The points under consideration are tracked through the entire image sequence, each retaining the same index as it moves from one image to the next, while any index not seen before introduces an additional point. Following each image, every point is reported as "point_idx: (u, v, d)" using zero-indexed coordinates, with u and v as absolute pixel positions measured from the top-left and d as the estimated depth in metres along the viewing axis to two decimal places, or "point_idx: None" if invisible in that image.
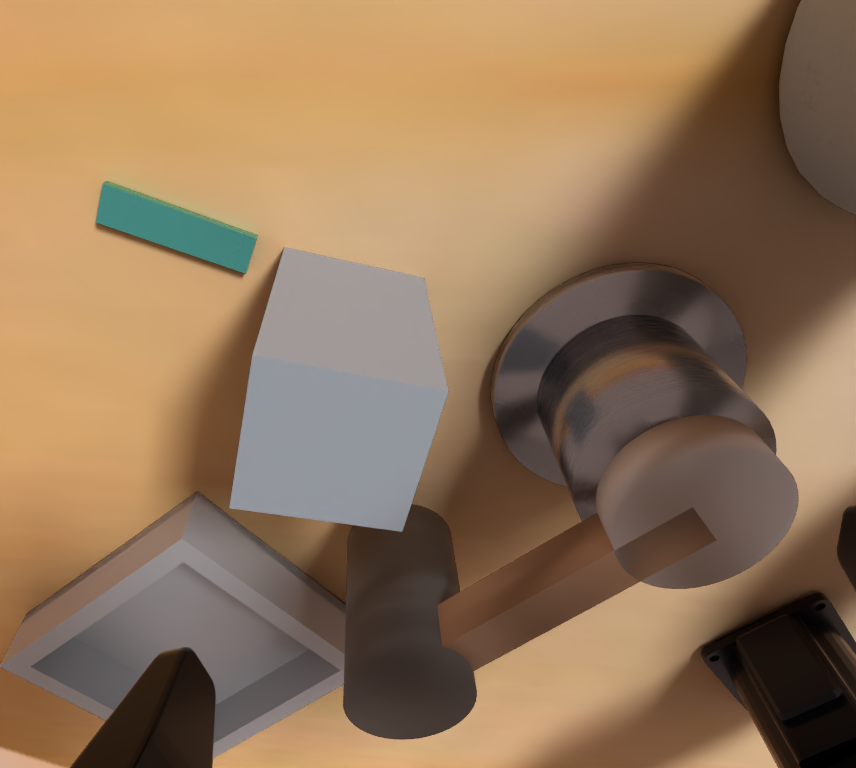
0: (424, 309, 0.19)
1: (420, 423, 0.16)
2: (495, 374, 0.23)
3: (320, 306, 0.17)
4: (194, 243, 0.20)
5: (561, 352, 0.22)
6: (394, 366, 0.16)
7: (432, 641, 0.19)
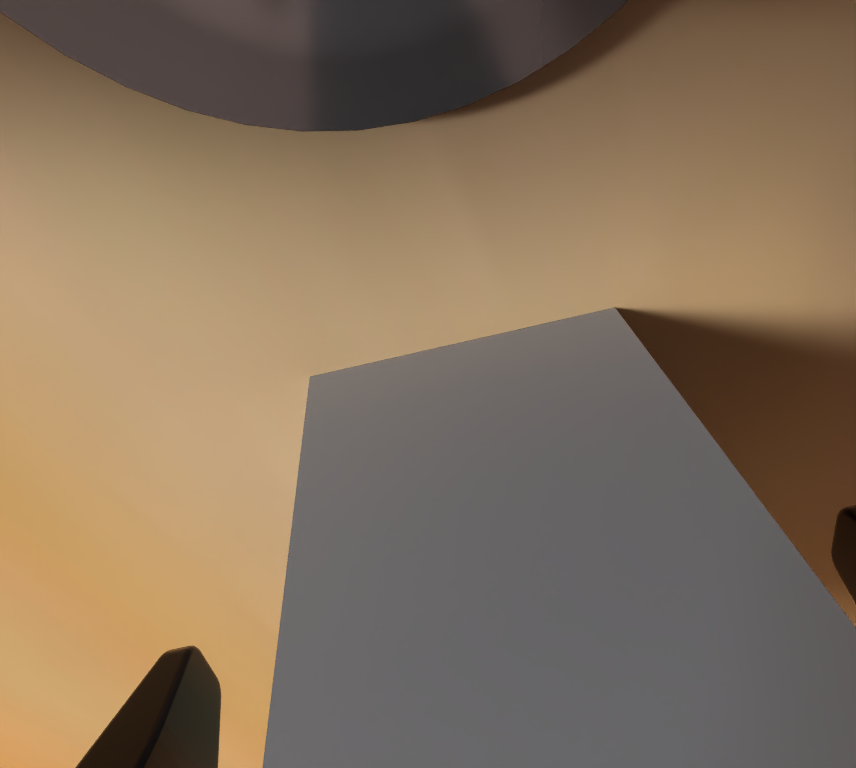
0: None
1: None
2: (456, 99, 0.07)
3: None
4: None
5: None
6: None
7: None
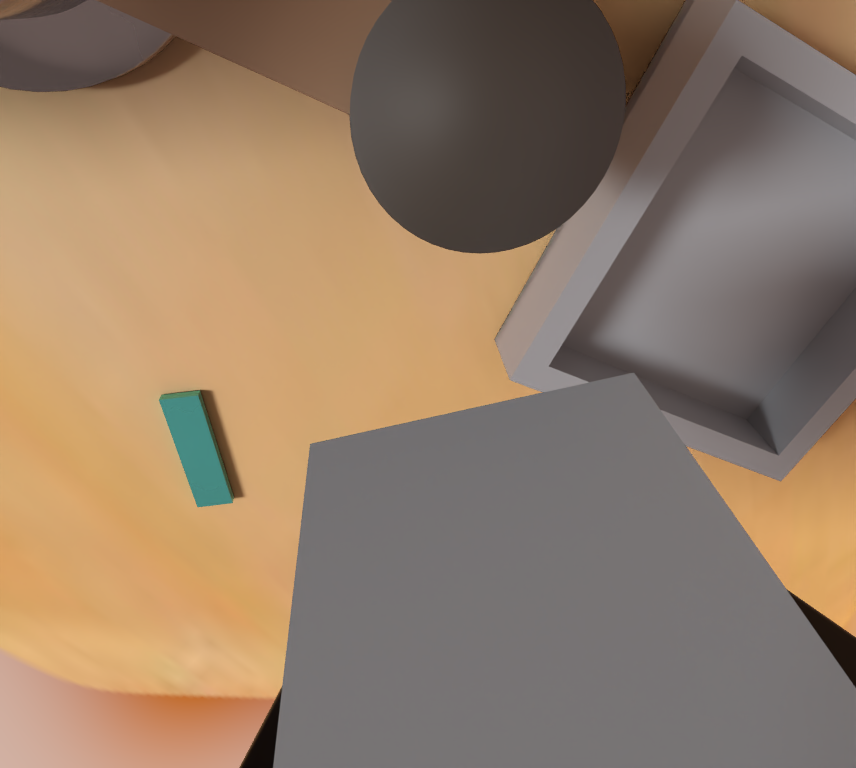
0: None
1: None
2: (116, 76, 0.15)
3: None
4: (199, 439, 0.21)
5: None
6: None
7: None
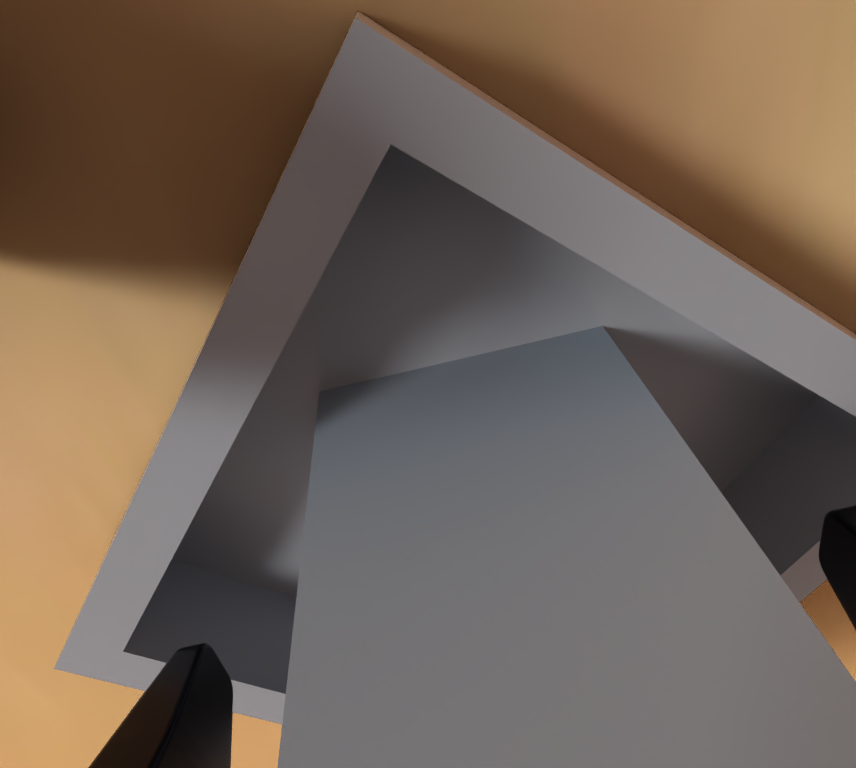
0: None
1: None
2: None
3: None
4: None
5: None
6: None
7: None
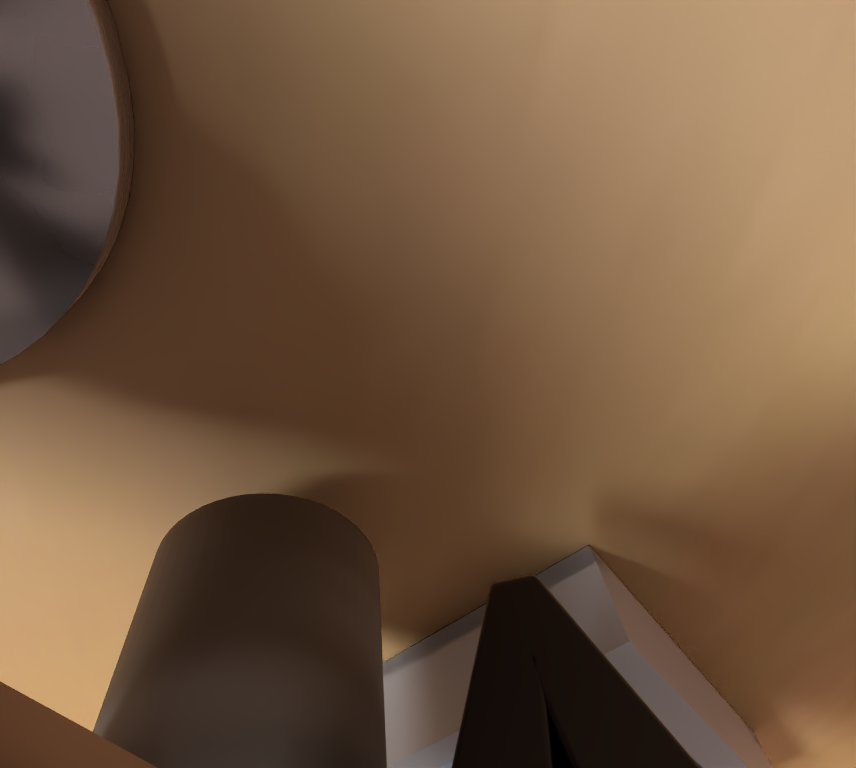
0: None
1: None
2: None
3: None
4: None
5: None
6: None
7: None
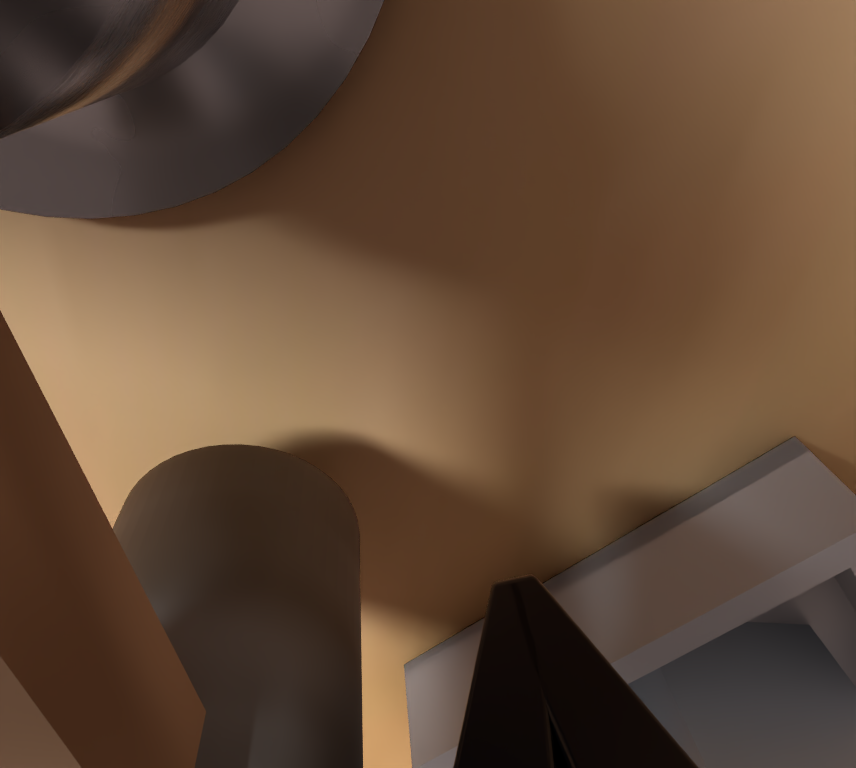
0: (681, 728, 0.13)
1: None
2: (53, 208, 0.09)
3: None
4: None
5: None
6: None
7: None
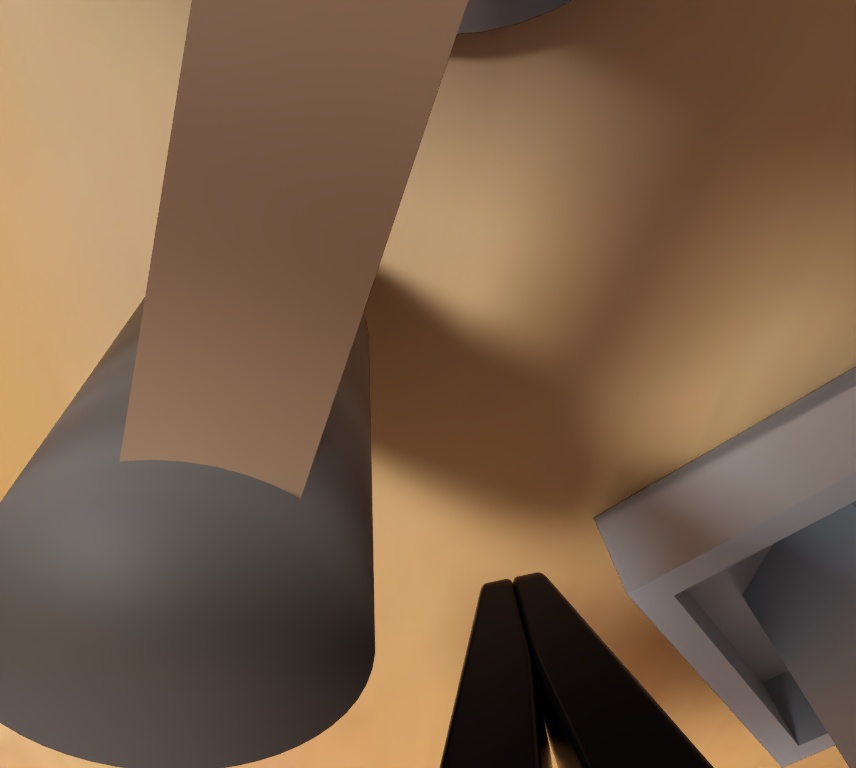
0: None
1: None
2: None
3: (852, 690, 0.14)
4: None
5: None
6: None
7: (89, 460, 0.06)
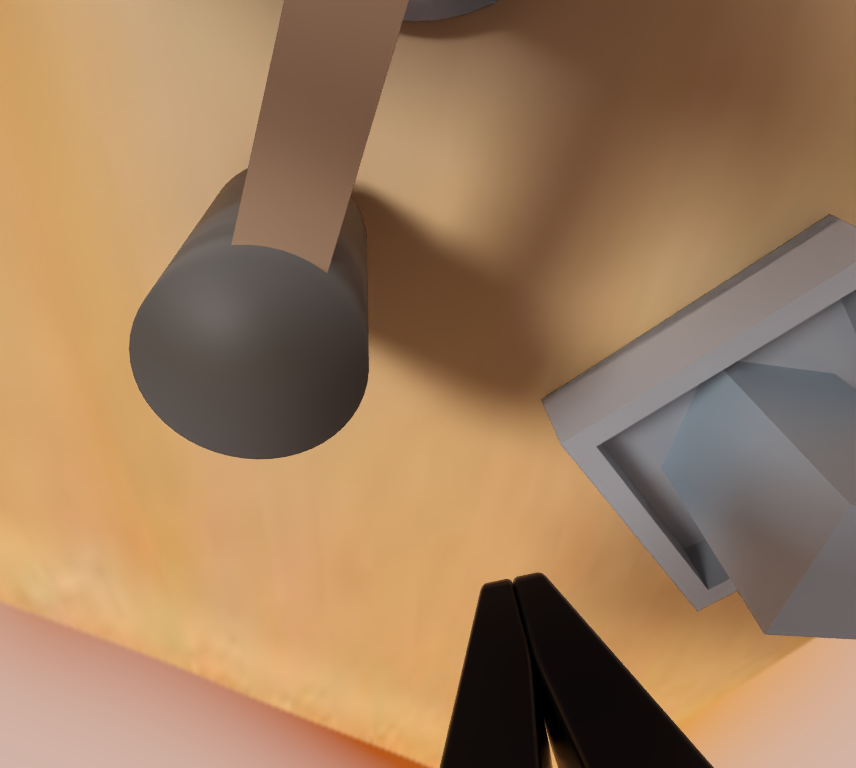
0: (749, 406, 0.19)
1: None
2: None
3: (727, 512, 0.19)
4: None
5: None
6: (807, 524, 0.16)
7: (214, 246, 0.11)
